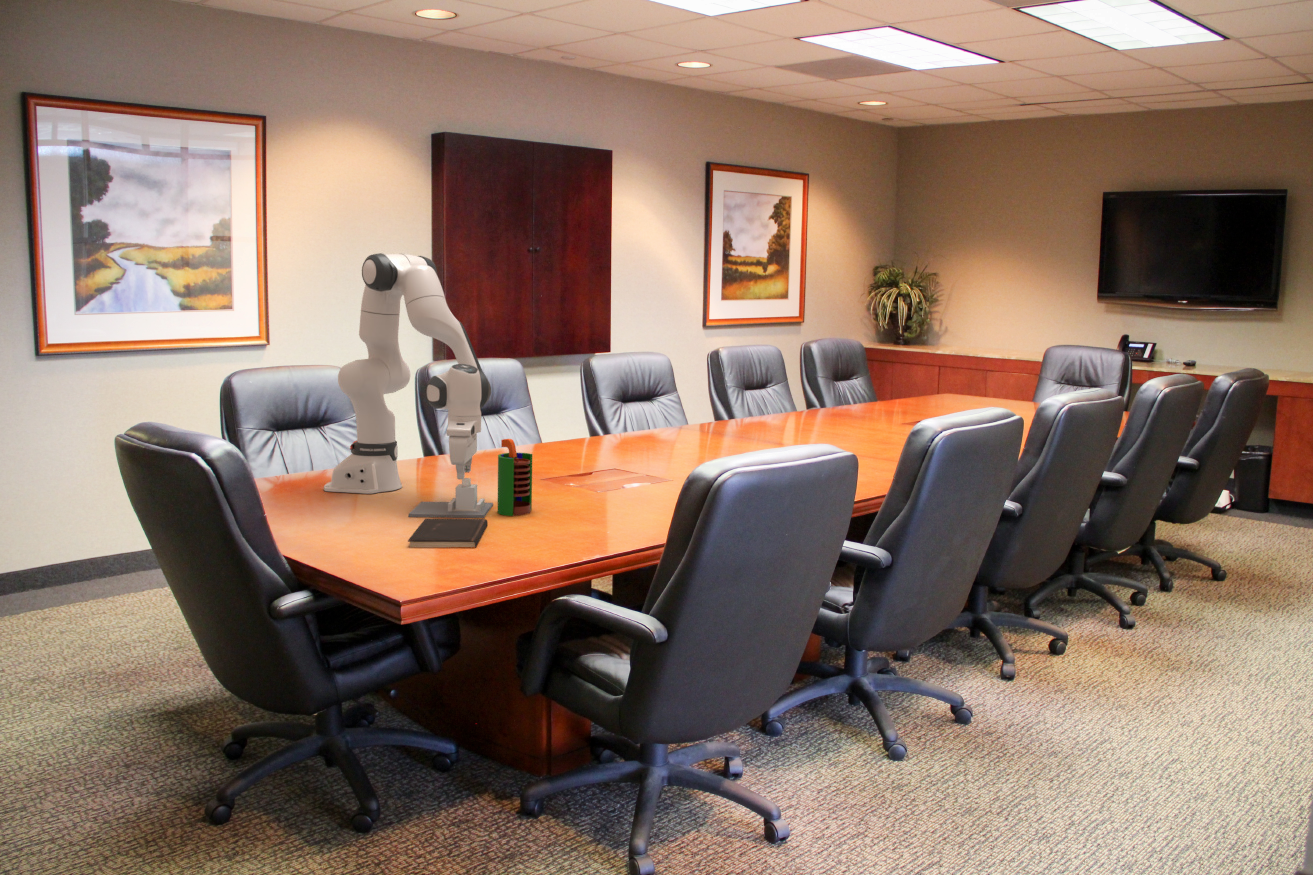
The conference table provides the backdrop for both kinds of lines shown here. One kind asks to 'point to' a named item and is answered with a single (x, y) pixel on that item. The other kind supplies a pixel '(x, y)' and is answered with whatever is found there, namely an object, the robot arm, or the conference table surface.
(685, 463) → the conference table surface
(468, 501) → the white cube with knob
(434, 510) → the mounting plate
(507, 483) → the motor
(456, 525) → the hardcover book
